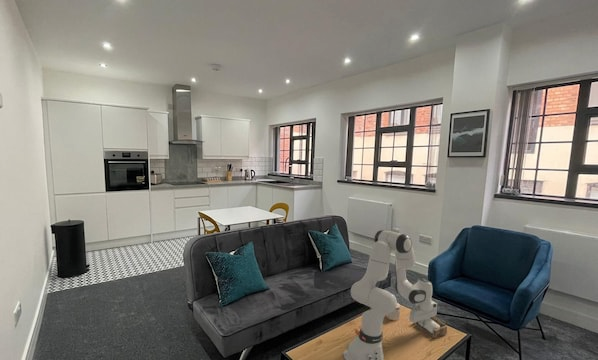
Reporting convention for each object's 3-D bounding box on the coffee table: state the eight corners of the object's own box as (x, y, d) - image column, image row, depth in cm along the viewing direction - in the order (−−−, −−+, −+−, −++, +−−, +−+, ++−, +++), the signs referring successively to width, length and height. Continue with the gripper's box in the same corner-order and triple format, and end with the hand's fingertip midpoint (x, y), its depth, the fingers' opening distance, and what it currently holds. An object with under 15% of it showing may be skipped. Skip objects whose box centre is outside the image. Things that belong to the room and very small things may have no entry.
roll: (430, 329, 173) (433, 337, 175) (438, 322, 175) (441, 330, 177) (415, 318, 185) (419, 326, 186) (423, 311, 187) (426, 319, 188)
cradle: (435, 338, 172) (435, 329, 171) (413, 323, 187) (414, 315, 186) (446, 334, 176) (447, 325, 176) (424, 320, 191) (425, 311, 190)
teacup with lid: (402, 320, 190) (402, 304, 189) (388, 321, 189) (389, 304, 188) (394, 310, 202) (395, 295, 201) (382, 311, 201) (382, 295, 200)
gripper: (415, 310, 170) (414, 332, 171) (439, 303, 178) (437, 324, 180) (407, 305, 175) (406, 326, 177) (430, 298, 184) (429, 318, 185)
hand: (422, 325), depth 178 cm, fingers closed
